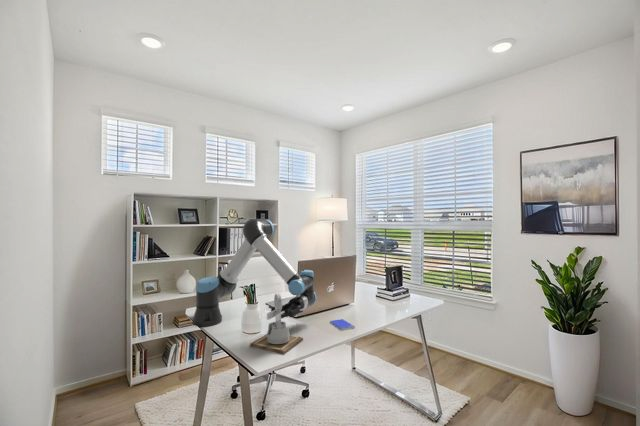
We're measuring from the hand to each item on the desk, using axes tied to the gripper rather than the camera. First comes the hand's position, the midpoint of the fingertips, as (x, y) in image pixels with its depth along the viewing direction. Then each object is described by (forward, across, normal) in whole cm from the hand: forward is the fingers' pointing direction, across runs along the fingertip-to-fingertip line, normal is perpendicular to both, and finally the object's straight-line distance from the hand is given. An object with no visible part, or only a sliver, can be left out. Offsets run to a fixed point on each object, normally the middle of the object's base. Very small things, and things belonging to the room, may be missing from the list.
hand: (271, 317), depth 136 cm
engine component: (-4, 0, -11) cm, 12 cm away
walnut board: (-4, 0, -13) cm, 14 cm away
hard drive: (-39, -18, -14) cm, 45 cm away
